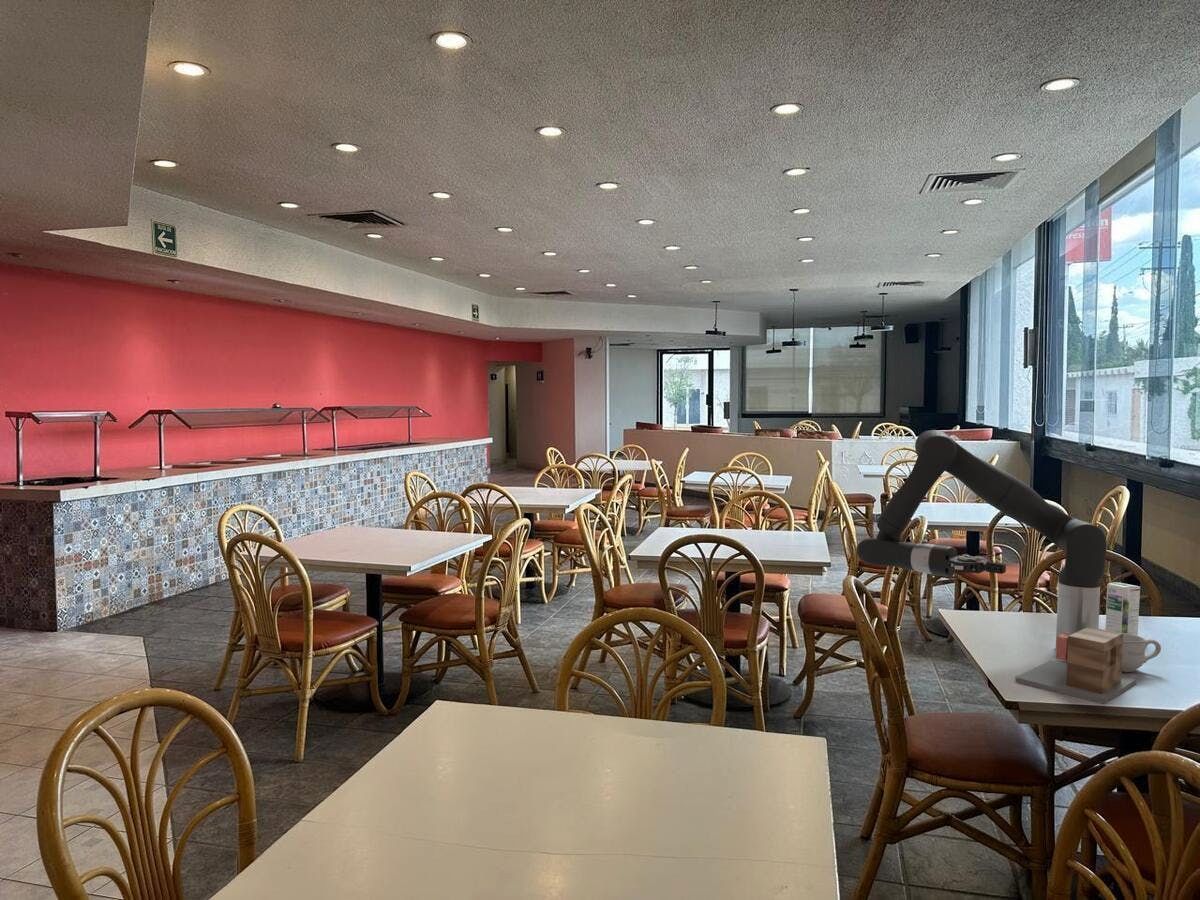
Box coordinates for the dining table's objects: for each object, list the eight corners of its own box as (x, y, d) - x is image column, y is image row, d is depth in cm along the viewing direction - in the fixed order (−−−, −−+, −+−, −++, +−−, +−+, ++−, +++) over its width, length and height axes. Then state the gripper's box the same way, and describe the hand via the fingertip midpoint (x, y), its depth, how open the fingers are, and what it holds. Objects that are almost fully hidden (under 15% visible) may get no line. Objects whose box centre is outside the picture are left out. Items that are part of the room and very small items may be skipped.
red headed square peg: (1064, 654, 186) (1065, 632, 186) (1108, 663, 179) (1109, 641, 179) (1055, 658, 183) (1056, 636, 183) (1100, 668, 176) (1101, 645, 176)
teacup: (1092, 671, 192) (1094, 637, 191) (1089, 658, 201) (1090, 626, 201) (1164, 681, 185) (1165, 646, 185) (1157, 667, 195) (1158, 634, 194)
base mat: (1050, 664, 197) (1050, 660, 196) (1135, 683, 183) (1136, 679, 183) (1015, 681, 183) (1015, 677, 183) (1104, 704, 170) (1105, 699, 170)
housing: (1085, 678, 186) (1088, 626, 185) (1120, 686, 181) (1123, 633, 180) (1066, 690, 178) (1068, 635, 178) (1101, 698, 173) (1104, 643, 172)
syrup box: (1103, 635, 222) (1106, 583, 222) (1117, 633, 225) (1119, 581, 224) (1124, 641, 217) (1127, 587, 217) (1138, 638, 220) (1141, 585, 219)
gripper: (921, 548, 202) (992, 557, 189) (946, 541, 211) (1016, 550, 198) (921, 577, 202) (992, 589, 189) (946, 570, 211) (1016, 580, 198)
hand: (1004, 569), depth 193 cm, fingers closed
